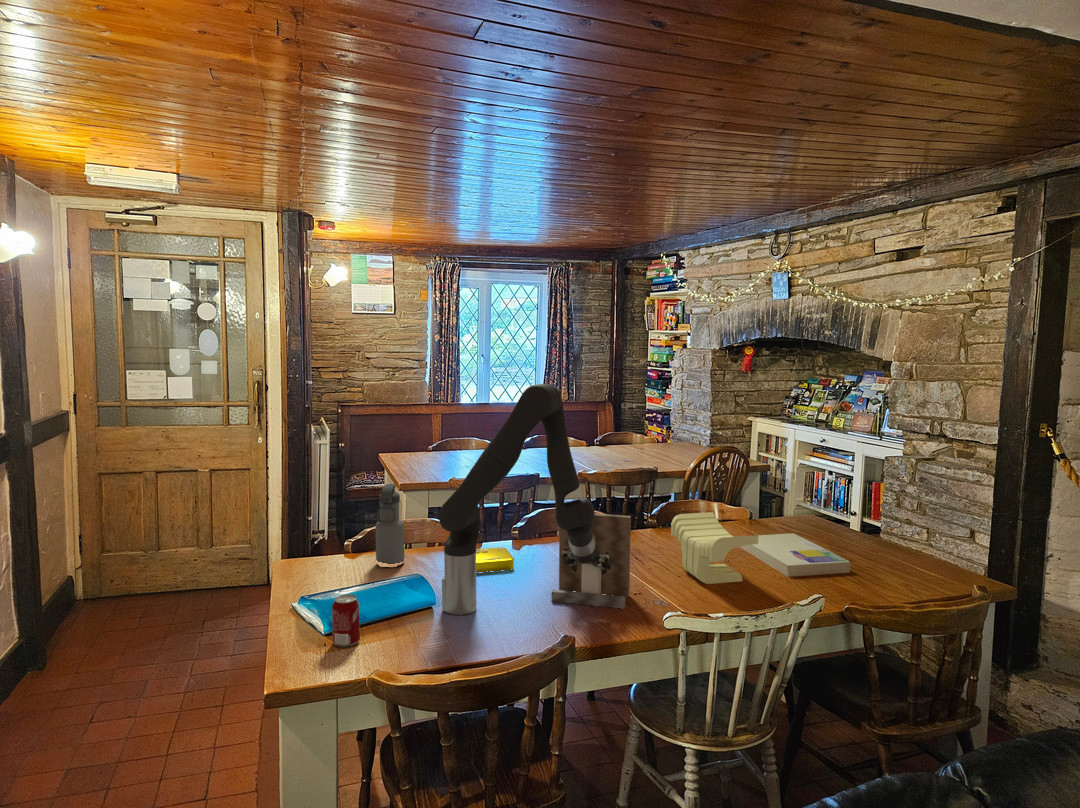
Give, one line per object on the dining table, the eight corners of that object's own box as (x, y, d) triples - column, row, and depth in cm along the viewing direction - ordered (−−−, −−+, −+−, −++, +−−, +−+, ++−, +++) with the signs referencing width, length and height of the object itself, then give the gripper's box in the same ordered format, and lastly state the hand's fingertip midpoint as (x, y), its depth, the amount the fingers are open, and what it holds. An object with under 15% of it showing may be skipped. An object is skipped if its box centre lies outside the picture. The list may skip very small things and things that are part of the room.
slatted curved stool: (670, 563, 241) (671, 514, 240) (711, 560, 245) (712, 512, 243) (710, 594, 212) (712, 538, 211) (756, 590, 216) (758, 535, 214)
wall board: (551, 601, 206) (552, 520, 203) (560, 588, 217) (561, 511, 214) (624, 609, 200) (625, 525, 198) (629, 595, 211) (630, 516, 209)
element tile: (471, 575, 230) (471, 561, 229) (464, 561, 244) (464, 548, 244) (515, 571, 234) (515, 557, 233) (505, 558, 248) (505, 545, 248)
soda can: (349, 650, 172) (348, 604, 171) (327, 646, 175) (326, 600, 173) (365, 639, 178) (364, 595, 177) (344, 635, 181) (343, 591, 180)
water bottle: (400, 569, 234) (399, 489, 231) (372, 569, 234) (371, 488, 232) (407, 559, 244) (406, 483, 242) (380, 559, 244) (378, 482, 242)
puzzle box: (793, 544, 268) (736, 546, 264) (794, 532, 267) (737, 535, 263) (850, 575, 232) (786, 578, 228) (851, 562, 232) (786, 565, 228)
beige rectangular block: (581, 600, 206) (581, 565, 205) (585, 593, 212) (585, 559, 211) (597, 602, 205) (598, 566, 204) (601, 595, 211) (601, 560, 210)
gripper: (609, 534, 194) (614, 561, 206) (560, 530, 198) (568, 557, 210) (605, 558, 190) (611, 584, 202) (556, 553, 193) (564, 579, 205)
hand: (589, 570), depth 206 cm, fingers open, 8 cm apart
